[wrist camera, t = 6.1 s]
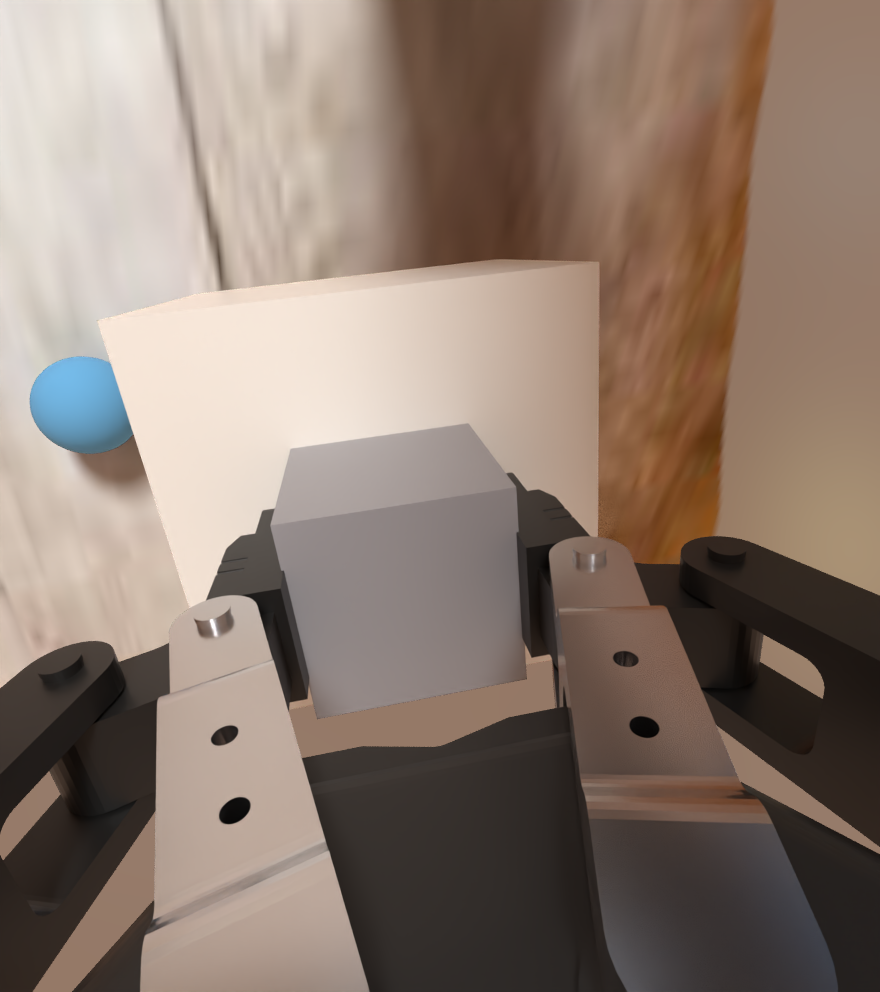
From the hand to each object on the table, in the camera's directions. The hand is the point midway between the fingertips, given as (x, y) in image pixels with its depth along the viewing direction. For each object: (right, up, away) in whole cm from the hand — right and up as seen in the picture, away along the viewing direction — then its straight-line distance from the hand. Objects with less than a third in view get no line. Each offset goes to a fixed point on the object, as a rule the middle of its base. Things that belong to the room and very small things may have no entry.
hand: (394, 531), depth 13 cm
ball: (-17, +5, +18) cm, 25 cm away
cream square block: (-1, +4, +9) cm, 10 cm away
